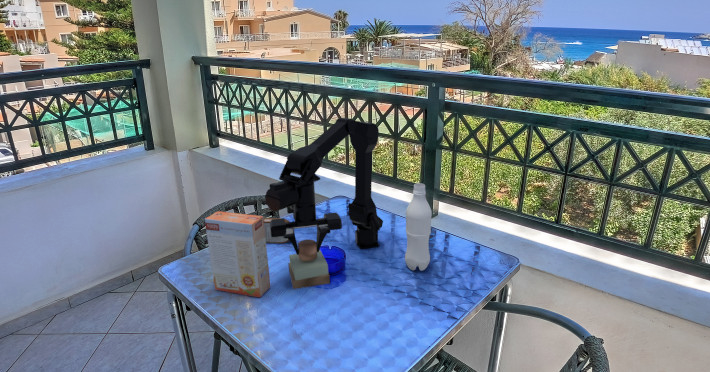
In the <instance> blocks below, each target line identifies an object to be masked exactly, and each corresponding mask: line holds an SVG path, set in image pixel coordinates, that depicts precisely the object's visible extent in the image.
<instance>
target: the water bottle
mask: <svg viewBox="0 0 710 372" xmlns="http://www.w3.org/2000/svg"><path fill="white" fill-rule="evenodd" d="M412 194H413V196H412V199H411V200H410V202H409V204H408V206H407V208H406V210H405V234H406V251H405V254H404V261H405V264H406V266H407V267H408V269H409V270H410V271H415V270H416V269H417V267H418V269H419V271H421V272H423V271H425V270H427V267H428V266H429V263H430V262H431V255H430V247H429V242H430V241H429V240H430V236H431V234H432V231H431V230H432V215H433V214H432V213H433V211H432V209H431V207H430V204H429V202H428V201H427V198H426V195H427V191H426V185H425V184H424V183H421V182H420V183H415V184H414V185H413V190H412Z"/></svg>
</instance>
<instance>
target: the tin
mask: <svg viewBox="0 0 710 372" xmlns="http://www.w3.org/2000/svg"><path fill="white" fill-rule="evenodd" d="M282 218H283V217H282ZM282 218H281V217H280V218H279V217H278V218H277V217H263V219H264V229H265V238H266V244H277V245H279V244H286V243H288V242H290V241H289V239H288V238H287V239H285V238H284V236H280V237H271V229H270V221H271V220H274V219H282ZM284 220H285V223H287V222H291V221H290V220H288V219H286V218H284Z"/></svg>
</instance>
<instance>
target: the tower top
mask: <svg viewBox="0 0 710 372" xmlns="http://www.w3.org/2000/svg"><path fill="white" fill-rule="evenodd" d="M288 257H289V263H290V266H291V269H292V272H293V275H294V278H295V280H300V279H306V278H311V277H317V276H322V275H328V273H329V264H328V262H327V260H326V258H325V256H324V254H323V253H322V250H321V249H320V250H319V252H317V258H316V259H314V260H312V261H302V260H300V259H299V255H297V253H294V254H293V253H292V254H289V256H288Z"/></svg>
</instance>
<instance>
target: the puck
mask: <svg viewBox="0 0 710 372" xmlns="http://www.w3.org/2000/svg"><path fill="white" fill-rule="evenodd" d="M297 246H298V251H299V259H300V260H302V261H312V260H314V259H316V258H317V245H316V240H314V239H302V240H300V241H299V242H298V243H297Z"/></svg>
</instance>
